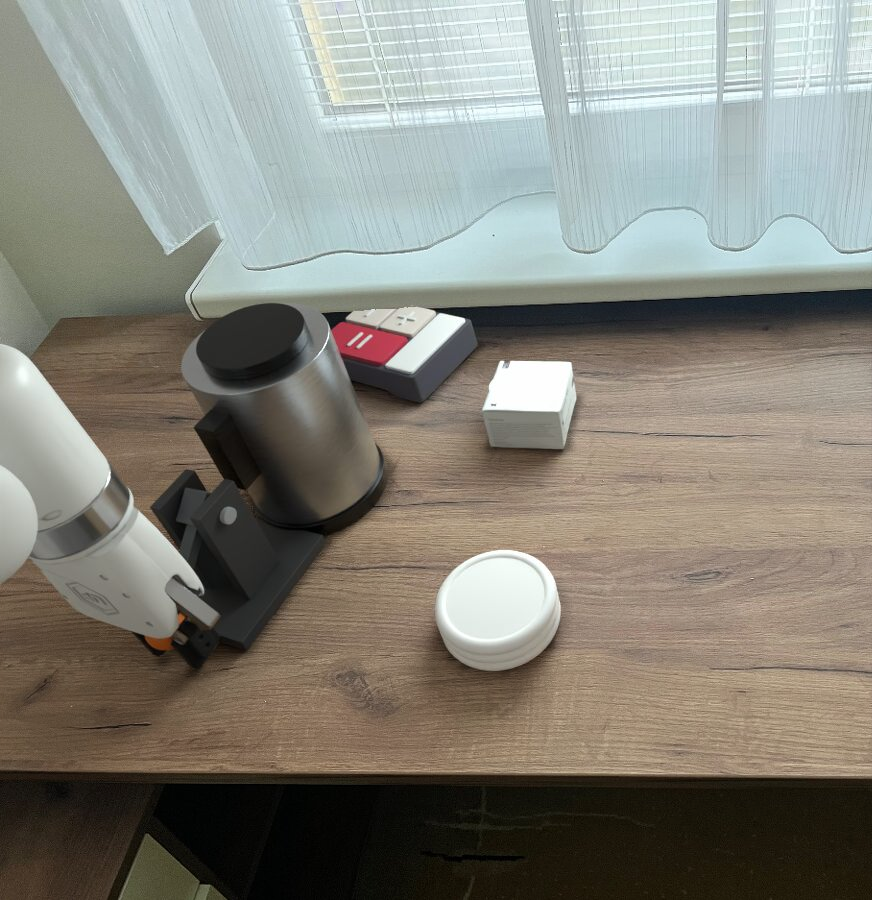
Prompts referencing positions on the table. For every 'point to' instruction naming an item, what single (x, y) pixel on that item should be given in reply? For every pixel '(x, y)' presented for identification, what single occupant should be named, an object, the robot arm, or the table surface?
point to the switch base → (238, 557)
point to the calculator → (403, 348)
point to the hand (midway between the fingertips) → (187, 646)
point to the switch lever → (185, 546)
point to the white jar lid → (498, 610)
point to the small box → (530, 404)
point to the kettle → (285, 417)
